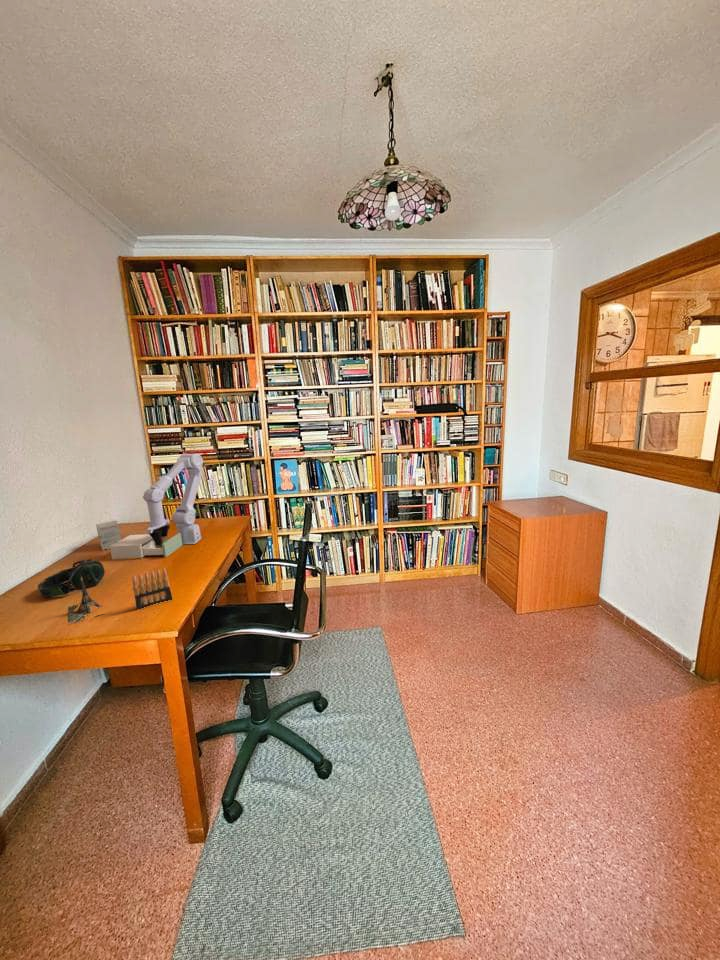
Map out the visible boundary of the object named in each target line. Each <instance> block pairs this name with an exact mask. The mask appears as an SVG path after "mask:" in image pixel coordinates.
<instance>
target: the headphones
mask: <svg viewBox="0 0 720 960" xmlns="http://www.w3.org/2000/svg"><path fill="white" fill-rule="evenodd" d="M103 565H104V564H102V563H101V561H98V560H92V559H91V558H90V559H87V560H85V559H83V560H79V561H75V562H74V563H73V565H72V567H69V568H65V569H62V570H60V571H58V572H55V573H53V574H52V575H50V576H48V577H46V578H44V579H43V580H41V582H40V583H39V584H38V585H37V589H38V591H39V593H40V594H41V597H42V598H53V597H55V598H56V597H61V596H64V595H69V593H72V592H80V591H81V592H82V586H81V580H80V578H81V577H82V578H83V582H84V585H85V588H86V590H87V589H90V588H91V587H92V586H93V587H95V585H98V584H100V582H102V580H103V578H104V577H105V573H106V572H105V567H104V566H103ZM76 588H78V589H76ZM79 588H81V589H79Z"/></svg>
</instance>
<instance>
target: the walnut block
mask: <svg viewBox="0 0 720 960" xmlns="http://www.w3.org/2000/svg"><path fill="white" fill-rule="evenodd" d="M167 540H169V538H168V535H167V536H162V537H161V545H156V544H155V548H162V544H163V543H164V542H166V541H167ZM154 543H155V542H154Z"/></svg>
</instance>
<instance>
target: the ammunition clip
mask: <svg viewBox="0 0 720 960" xmlns="http://www.w3.org/2000/svg"><path fill="white" fill-rule="evenodd" d="M150 578H151V579H150ZM131 580H132V589H133V595H134V600H135V606H136V607H135V608H136V611H139V610H138V609H140V610H142V609H141V608H143V609H145V608H144V607H147V606H150V605H153V604H156V603H160V602H164V601H167V602H169V601H168V600H171V601H173V600H172V599H173V596H172V595H173V594H172V591H171V586H170V580H169V577H168V572H167V570H166V568H165V567H163V568H162V574H161V571H160V569H159V568H157V569H156V575H155V572H154V570H151V572H150V576H149V574H148V572H147V571H145V573H144V577H143V575H142V573H138V579H137V577H136V575H135V574H133V575H132V579H131ZM138 583H139V584H138ZM164 603H165V602H164ZM150 607H151V606H150ZM147 608H148V607H147Z"/></svg>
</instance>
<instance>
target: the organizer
mask: <svg viewBox="0 0 720 960" xmlns="http://www.w3.org/2000/svg"><path fill="white" fill-rule="evenodd" d="M151 540H153V538H152V537H151V536H150V535H149V534H146V533H145V534H130V535H128V536H126V537H123V538H121V540H120V541H118V542H116V543H114V544H112V545H111V546H110V549H109V550H110V551H109V552H110V554H111V559H112V560H117V559H116V558H142V557H144V556H145V555H143V551H142V546H143V545H145V544H146V543H148V542H150V541H151ZM145 557H146V556H145ZM145 557H144V558H145ZM142 559H143V558H142Z"/></svg>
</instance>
